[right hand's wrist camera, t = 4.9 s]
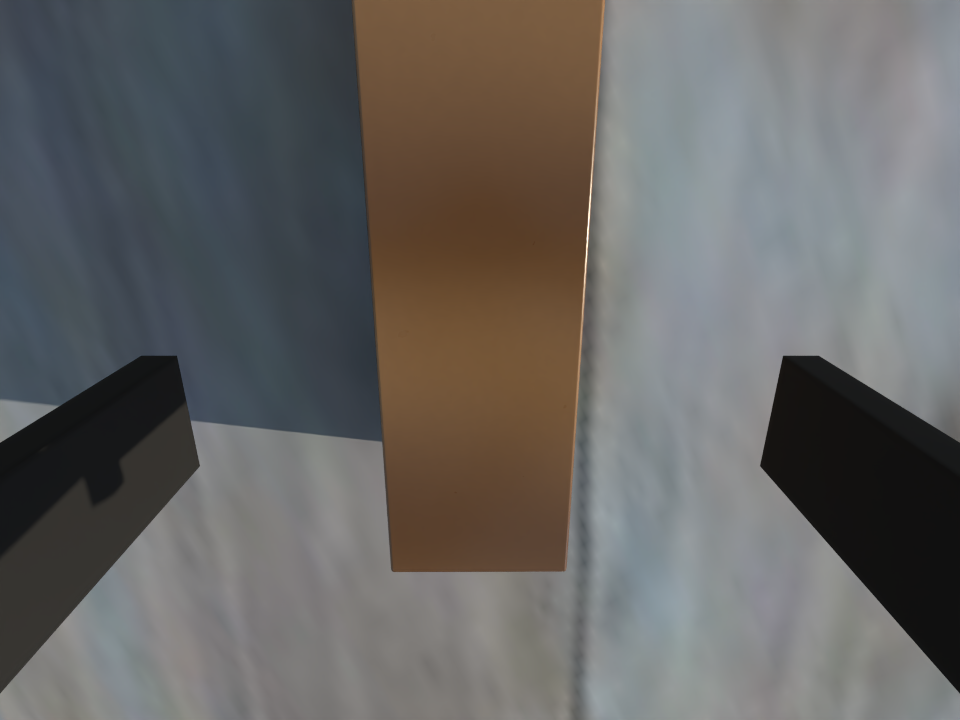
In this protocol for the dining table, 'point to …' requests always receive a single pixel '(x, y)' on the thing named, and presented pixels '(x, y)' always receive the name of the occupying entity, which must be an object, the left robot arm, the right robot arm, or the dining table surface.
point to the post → (478, 268)
